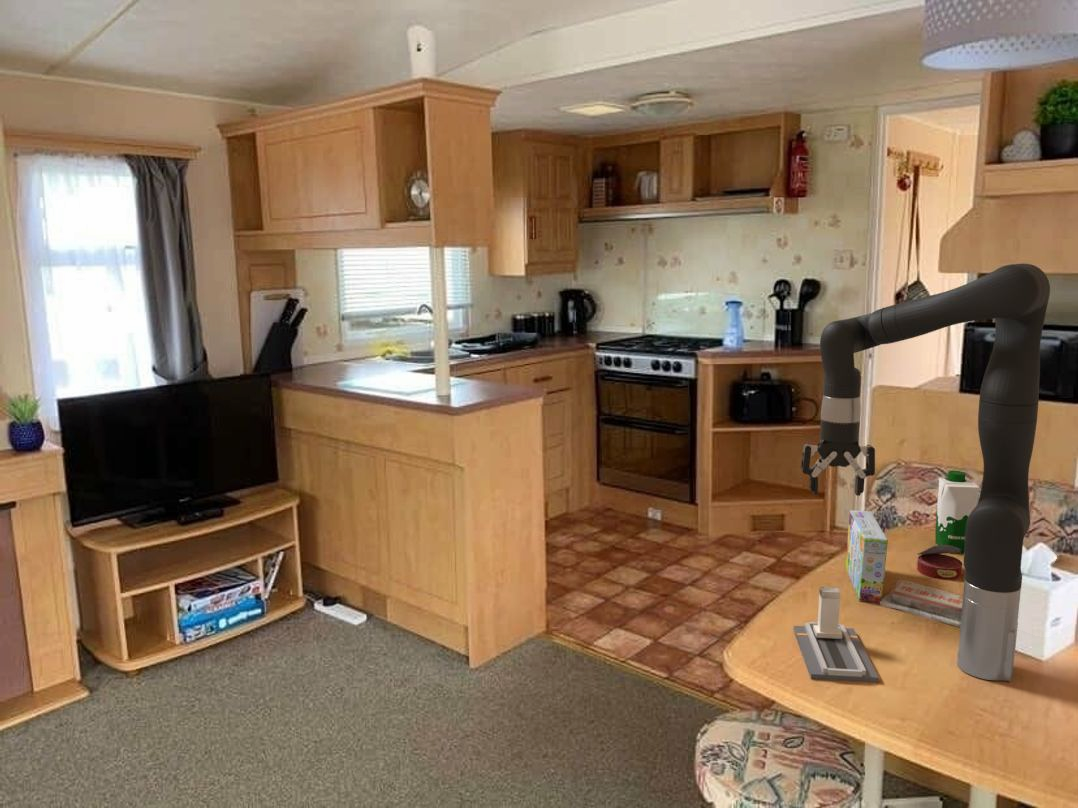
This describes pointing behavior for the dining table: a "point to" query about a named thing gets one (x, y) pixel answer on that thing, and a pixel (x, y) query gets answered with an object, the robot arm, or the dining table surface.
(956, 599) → the packaged product
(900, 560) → the dining table surface
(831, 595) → the fader tab
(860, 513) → the snack box
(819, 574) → the dining table surface
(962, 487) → the milk carton
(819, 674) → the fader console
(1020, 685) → the dining table surface
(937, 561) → the canned food
